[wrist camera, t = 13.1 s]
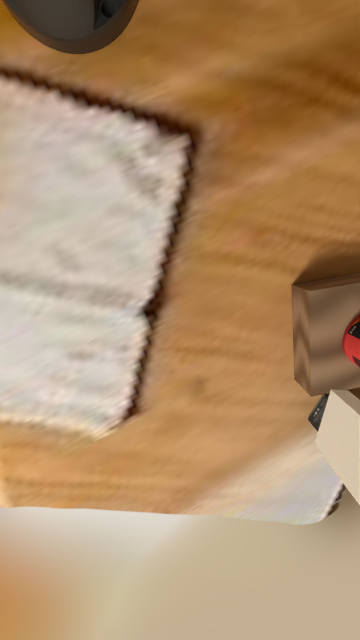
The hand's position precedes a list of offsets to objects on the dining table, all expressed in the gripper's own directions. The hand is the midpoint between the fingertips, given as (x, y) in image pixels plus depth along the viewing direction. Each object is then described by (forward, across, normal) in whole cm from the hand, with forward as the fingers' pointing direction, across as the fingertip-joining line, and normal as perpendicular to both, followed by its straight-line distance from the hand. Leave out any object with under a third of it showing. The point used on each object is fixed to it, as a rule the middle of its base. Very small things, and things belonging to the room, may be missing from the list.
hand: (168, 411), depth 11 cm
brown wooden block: (+29, +29, -4) cm, 41 cm away
